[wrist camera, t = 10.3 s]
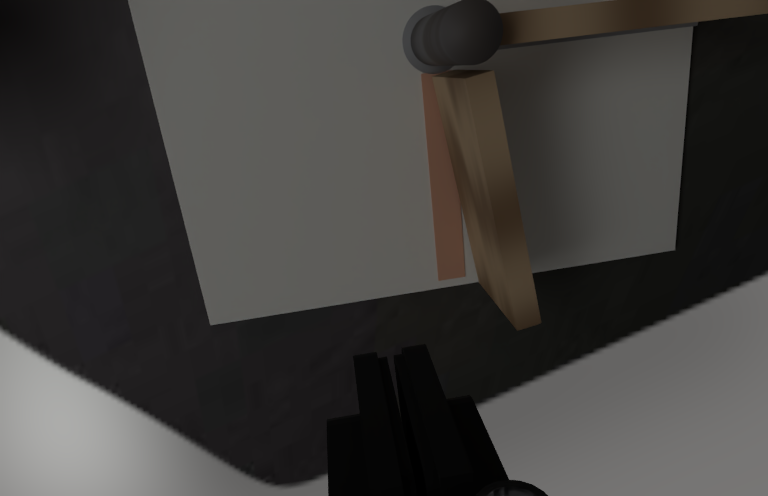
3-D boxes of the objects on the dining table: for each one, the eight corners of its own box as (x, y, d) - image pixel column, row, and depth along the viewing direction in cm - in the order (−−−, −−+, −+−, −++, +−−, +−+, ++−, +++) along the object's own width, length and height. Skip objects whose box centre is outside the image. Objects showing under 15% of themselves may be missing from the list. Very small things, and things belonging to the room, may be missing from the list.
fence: (694, -15, 27) (816, -42, 21) (690, 34, 28) (806, 24, 22) (406, 17, 26) (439, 0, 19) (411, 68, 27) (444, 69, 20)
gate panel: (431, 76, 26) (465, 78, 21) (454, 69, 26) (494, 70, 21) (478, 282, 30) (517, 330, 25) (498, 275, 30) (541, 323, 25)
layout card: (702, -111, 26) (709, -114, 25) (673, 247, 32) (678, 249, 32) (116, -55, 23) (112, -57, 23) (211, 321, 30) (210, 325, 29)
